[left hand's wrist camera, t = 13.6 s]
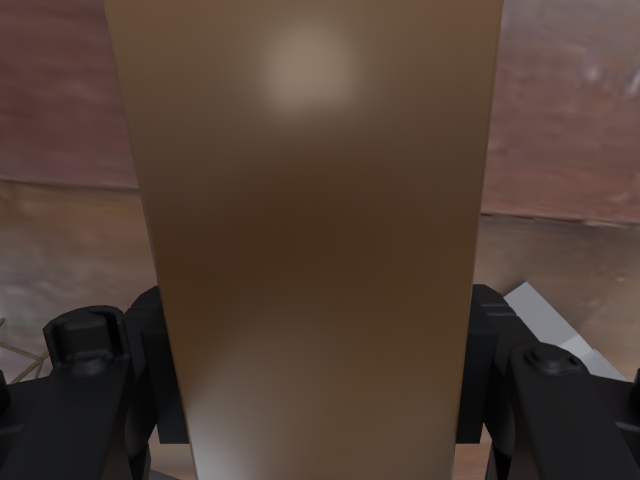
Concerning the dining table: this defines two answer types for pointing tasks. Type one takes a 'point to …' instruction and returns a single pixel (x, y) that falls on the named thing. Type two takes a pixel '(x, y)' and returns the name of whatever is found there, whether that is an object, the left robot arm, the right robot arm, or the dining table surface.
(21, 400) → the left robot arm
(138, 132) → the beam
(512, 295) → the electronic device
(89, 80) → the dining table surface
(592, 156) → the dining table surface
